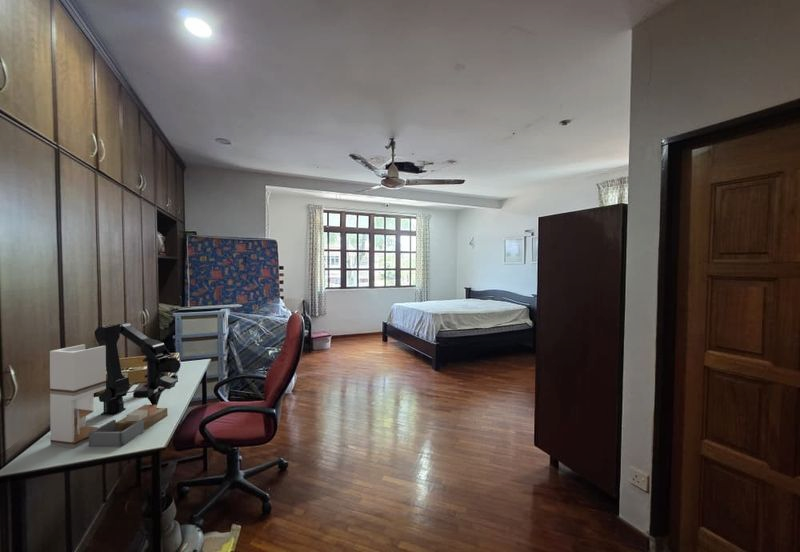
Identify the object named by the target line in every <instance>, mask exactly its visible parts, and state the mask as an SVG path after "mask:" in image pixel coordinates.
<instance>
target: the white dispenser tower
mask: <svg viewBox="0 0 800 552" xmlns="http://www.w3.org/2000/svg"><path fill="white" fill-rule="evenodd" d="M106 381H107V371H106V346H101V345H100V346H96V347H91V348H88V349H87V348H86V344H85V343H84V344H83V343H82V344H79V345H73V346H69V347H63V348H59V349H58V348H57V349H53V350H50V351H49V402H50V404H49V408H50V409H49V413H50V419H49V420H50V428H49V429H50V446H53V445H55V447H62V448H68V449H69V448H70V449H76V448H78V447H80V446H82V445H85V444H87V443H89V433H90V432H92V431H93V430H95V429H97V428H99V427H100V426H99V427H98V426H90V425H89V426H88V425H87V424H86V423H87V420H86V419H87V418H86V416H88V415H90V414H92V413H94V412H95V409H94V407H95V404H94V403H95V402H94V397H95V396H94V394H96V393H98V392H101V391H104V389H106Z"/></svg>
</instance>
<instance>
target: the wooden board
mask: <svg viewBox="0 0 800 552" xmlns="http://www.w3.org/2000/svg"><path fill="white" fill-rule="evenodd" d="M167 417H168V407H157V410H156V411H155V412H153V413H151V414H150V415H148V416H146V417H145V418H143V419H142V420H144V432H145V431H147V430H148V429H150V428H151V427H152V426H154V425H156V424H158V423H159V422H160V421H162V420H163V419H165V418H167ZM137 422H138V421H126V416H125V417H123V418H121V419H119V420H118V421H116V431H124V430H125V429H127V428H129V427H130V426H132V425H133V424H135V423H137Z"/></svg>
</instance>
